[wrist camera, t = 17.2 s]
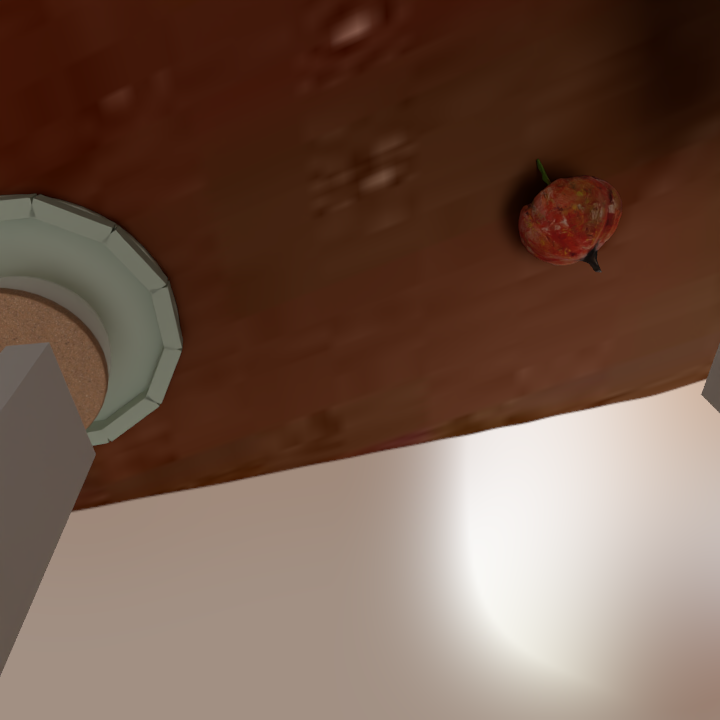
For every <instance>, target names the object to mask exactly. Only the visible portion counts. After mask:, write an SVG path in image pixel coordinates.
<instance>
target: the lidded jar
mask: <svg viewBox="0 0 720 720" xmlns="http://www.w3.org/2000/svg"><path fill="white" fill-rule="evenodd" d="M47 342H49V343H50V345H51V348H52V350H53V353H54V355H55V357H56V360H57V362H58V365H59V367H60V370H61V372H62V374H63V377H64V379H65V382H66V384H67V386H68V389H69V391H70V394H71V396H72V398H73V401H74V403H75V406H76V408H77V410H78V413H79V415H80V418H81V420H82V423H83V425H84V427H85V430H86V429H87V428H88V427H89V426H90V425H91V424H92V422H93V421H94V420H95V418H96V417H97V416H98V414H99V412H100V410H101V408H102V406H103V403H104V400H105V397H106V393H107V390H108V382H109V378H110V374H111V362H112V355H111V346H110V341H109V337H108V334H107V331H106V329H105V326H104V324H103V322H102V320H101V319H100V317H99V316H98V315H97V313H96V312H95V311H94V309H93V308H92V307H91V306H90V305H89V304H88V303H87V302H86V301H85V300H84V299H82V298H81V297H80V296H79V295H77V294H76V293H74V292H73V291H71V290H69V289H68V288H66V287H64V286H61V285H59V284H57V283H55V282H51V281H48V280H44V279H41V278H35V277H29V276H7V277H0V353H1V351H2V350H3V349H4V348H5V347H6V346H13V345H24V344H35V343H47Z"/></svg>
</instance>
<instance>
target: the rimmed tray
mask: <svg viewBox="0 0 720 720" xmlns="http://www.w3.org/2000/svg"><path fill="white" fill-rule="evenodd" d="M7 276H29V277H35V278H41V279H44V280H48V281H51V282H55V283H57V284H59V285H61V286H64V287H66V288H68V289H69V290H71V291H73V292H74V293H76V294H77V295H79V296H80V297H81V298H82V299H84V300H85V301H86V302H87V303H88V304H89V305H90V306H91V307H92V308H93V309H94V311H95V312H96V313H97V315H98V316H99V317H100V319H101V320H102V322H103V324H104V326H105V329H106V331H107V334H108V337H109V341H110V346H111V355H112V362H111V374H110V378H109V382H108V390H107V393H106V397H105V400H104V403H103V406H102V408H101V410H100V412H99V414H98V416H97V417H96V418H95V420H94V421H93V422H92V424H91V425H90V426H89V427H88V428H87V429H86V432H87V435H88V437H89V439H90V442H91V444H92V446H93V445H99V444H104V443H109V441H113V440H114V439H116V438H117V437H118V436H120V435H121V434H122V433H124V432H125V431H127V430H128V429H129V428H131V427H132V426H133V425H135V424H136V423H137V422H139V421H140V420H141V419H143V418H144V417H145V416H147V415H148V414H150V413H151V412H152V411H154V410H155V409H156V408H158V407H159V406H160V404H161V403H162V401H163V398H164V395H165V393H166V390H167V388H168V385H169V383H170V380H171V377H172V375H173V372H174V370H175V367H176V364H177V362H178V359H179V357H180V354H181V352H182V345H183V338H182V334H181V329H180V325H179V315H178V309H177V304H176V301H175V298H174V295H173V291H172V289H171V286H170V281H167V279H168V278H167V277H166V275H165V274H164V273H163V272H162V270H161V268H160V267H159V265H158V264H157V262H156V261H155V260H154V258H153V257H152V256H151V255H150V254H149V252H148V251H147V250H146V249H145V248H144V247H143V246H142V245H141V244H140V243H139V242H138V241H137V240H136V239H135V238H134V237H133V236H132V235H130V234H129V233H128V232H126V231H125V230H124V229H122V228H121V227H120V226H119V225H117V224H116V223H114V222H112V221H110V220H109V219H107V218H105V217H104V216H102V215H100V214H98V213H96V212H94V211H92V210H89V209H87V208H85V207H83V206H80V205H77V204H74V203H71V202H67V201H64V200H60V199H55V198H50V197H46V196H44V195H41V194H40V195H37V194H27V195H26V194H15V195H0V277H7Z"/></svg>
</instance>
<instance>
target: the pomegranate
mask: <svg viewBox="0 0 720 720" xmlns="http://www.w3.org/2000/svg"><path fill="white" fill-rule="evenodd" d="M536 162H537V165H538V168H539V170H540V171H541V173H542V179H543V181H544V182H545V183H546V184H547V185H548V186H547V187H546V188H545V189H543V190H542V191H540V192H539V194H538V195H537V196H536V197H535V198H534V200H533V201H532V202H531V203H530V204H528V205H525V206H523V207H522V209H521V212H520V216H519V226H518V227H519V233H520V237H521V242H522V244H523V245H524V246H525V248H526V249H527V251H528V252H529V253H531V254H532V255H534V256H535V257H536V258H538V259H540V260H542V261H544V262H547V263H551V264H553V265H569V264H573V263H576V262H578V261H584V262H587V263H588V264H590V265H591V266H592V268H593V269H594V271H595V272H602V271H601V270H600V267H599V265H598V262H597V251H598V249H599V248H600V247H601V246H602V245H603V244H604V243H605V241H607V240H608V239H609V238H610V237H611V236H612V235H613V233H614V232H615V230H616V228H617V226H618V222H619V219H620V217H621V215H622V200H621V198H620V196H619V193H618V192H617V191H616V190H615V189H614V187H613V186H612V185H610V184H609V183H608V182H606V181H604V180H601V179H598V178H597V177H591V176H586V175H582V176H576V177H570V178H559V179H557V180H555V181H554V182H552V183H551V182H550V180H549V178H548V176H547V174H546V172H545V170H544V168H543V166H542V164H541V162H540V161H539V159H537V161H536Z"/></svg>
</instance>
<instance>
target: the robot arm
mask: <svg viewBox="0 0 720 720" xmlns="http://www.w3.org/2000/svg"><path fill="white" fill-rule="evenodd" d="M702 396H703V397H704V398H705V399H707V400H708V402H709V403H710V404H711V405H712V406H713V407H714V408H715V409H716V410H717V411H719V413H720V344H719V347H718V350H717V352H716V355H715V358H714V361H713V363H712V366H711V369H710V372H709V375H708V377H707V380H706V383H705V386H704V389H703V391H702ZM95 455H96V454H95V451H94V449H93V447H92V444H91V442H90V439H89V437H88V435H87V432H86V430H85V427H84V425H83V423H82V420H81V418H80V415H79V413H78V410H77V408H76V406H75V403H74V401H73V398H72V396H71V394H70V391H69V389H68V386H67V384H66V382H65V379H64V377H63V374H62V372H61V370H60V367H59V365H58V362H57V360H56V357H55V355H54V353H53V350H52V348H51V345H50V343H49V342H47V343H35V344H24V345H13V346H6V347H5V348H4V349H3V350H2V351H1V353H0V675H1V673H2V671H3V668H4V666H5V664H6V661H7V659H8V657H9V654H10V652H11V650H12V647H13V645H14V643H15V641H16V638H17V636H18V634H19V631H20V629H21V627H22V624H23V622H24V620H25V617H26V615H27V613H28V610H29V608H30V606H31V603H32V601H33V599H34V597H35V594H36V592H37V590H38V587H39V585H40V582H41V580H42V578H43V576H44V573H45V571H46V568H47V566H48V564H49V562H50V559H51V557H52V555H53V553H54V550H55V548H56V546H57V543H58V541H59V539H60V536H61V534H62V532H63V529H64V527H65V525H66V522H67V520H68V518H69V515H70V513H71V511H72V509H73V506H74V504H75V502H76V499H77V497H78V495H79V492H80V490H81V488H82V485H83V483H84V481H85V478H86V476H87V474H88V471H89V469H90V467H91V465H92V462H93V460H94V458H95Z"/></svg>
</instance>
